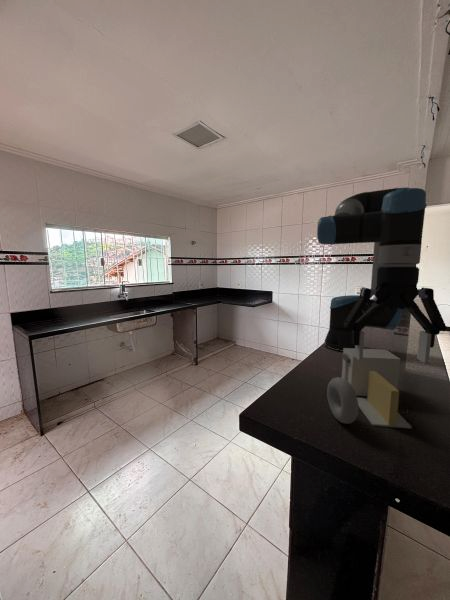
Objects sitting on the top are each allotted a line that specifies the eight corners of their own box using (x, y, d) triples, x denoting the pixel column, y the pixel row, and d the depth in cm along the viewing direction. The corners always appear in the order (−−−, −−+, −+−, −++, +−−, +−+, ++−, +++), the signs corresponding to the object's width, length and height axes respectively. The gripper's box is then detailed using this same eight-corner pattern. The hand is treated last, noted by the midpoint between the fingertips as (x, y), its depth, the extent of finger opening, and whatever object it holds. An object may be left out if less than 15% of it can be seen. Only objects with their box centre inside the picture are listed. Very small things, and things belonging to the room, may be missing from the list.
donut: (323, 408, 64) (325, 370, 62) (336, 408, 64) (338, 370, 63) (344, 434, 54) (347, 389, 52) (360, 433, 54) (363, 389, 53)
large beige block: (338, 382, 78) (340, 347, 77) (382, 384, 77) (385, 349, 75) (347, 394, 71) (349, 356, 69) (397, 398, 69) (400, 359, 68)
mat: (353, 398, 68) (353, 397, 68) (384, 400, 67) (385, 399, 67) (372, 425, 57) (372, 423, 57) (411, 428, 56) (411, 426, 56)
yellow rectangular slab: (388, 425, 56) (391, 390, 55) (367, 399, 67) (369, 371, 66) (396, 425, 56) (399, 391, 55) (373, 400, 67) (375, 371, 66)
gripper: (343, 266, 53) (337, 363, 56) (477, 265, 50) (464, 368, 52) (332, 266, 60) (328, 352, 63) (448, 265, 57) (438, 355, 60)
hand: (390, 359), depth 58 cm, fingers open, 13 cm apart
